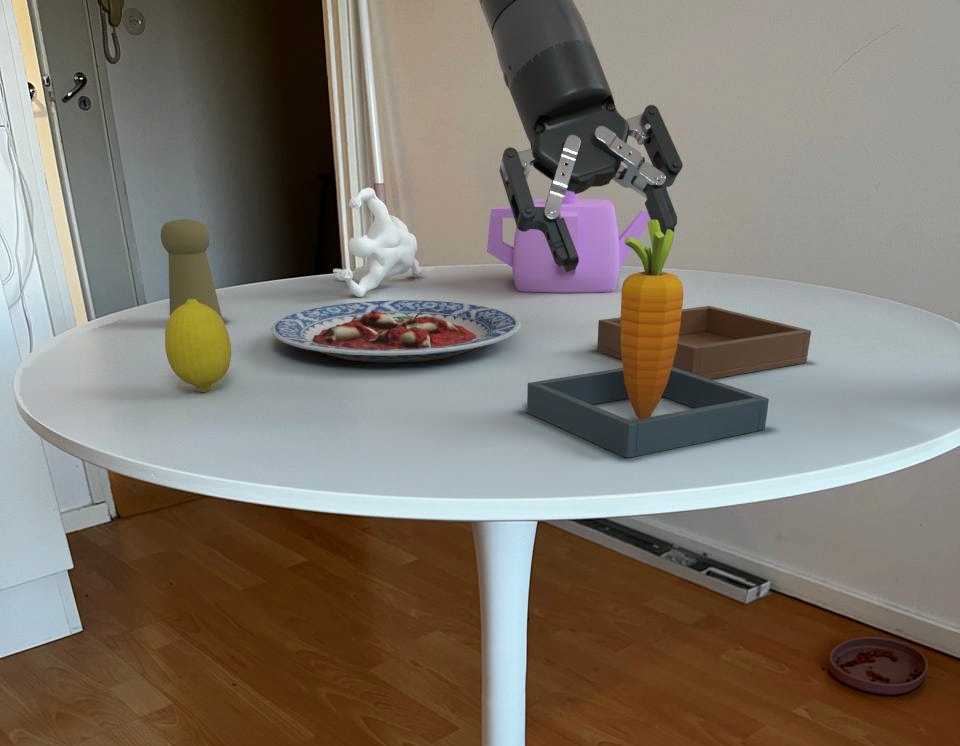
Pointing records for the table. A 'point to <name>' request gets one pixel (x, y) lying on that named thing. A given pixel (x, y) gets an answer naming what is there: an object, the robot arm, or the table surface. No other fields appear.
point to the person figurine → (379, 248)
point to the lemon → (197, 345)
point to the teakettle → (591, 239)
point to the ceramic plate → (395, 329)
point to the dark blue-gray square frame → (711, 420)
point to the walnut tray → (723, 342)
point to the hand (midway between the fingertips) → (621, 252)
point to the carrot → (650, 322)
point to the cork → (188, 264)
